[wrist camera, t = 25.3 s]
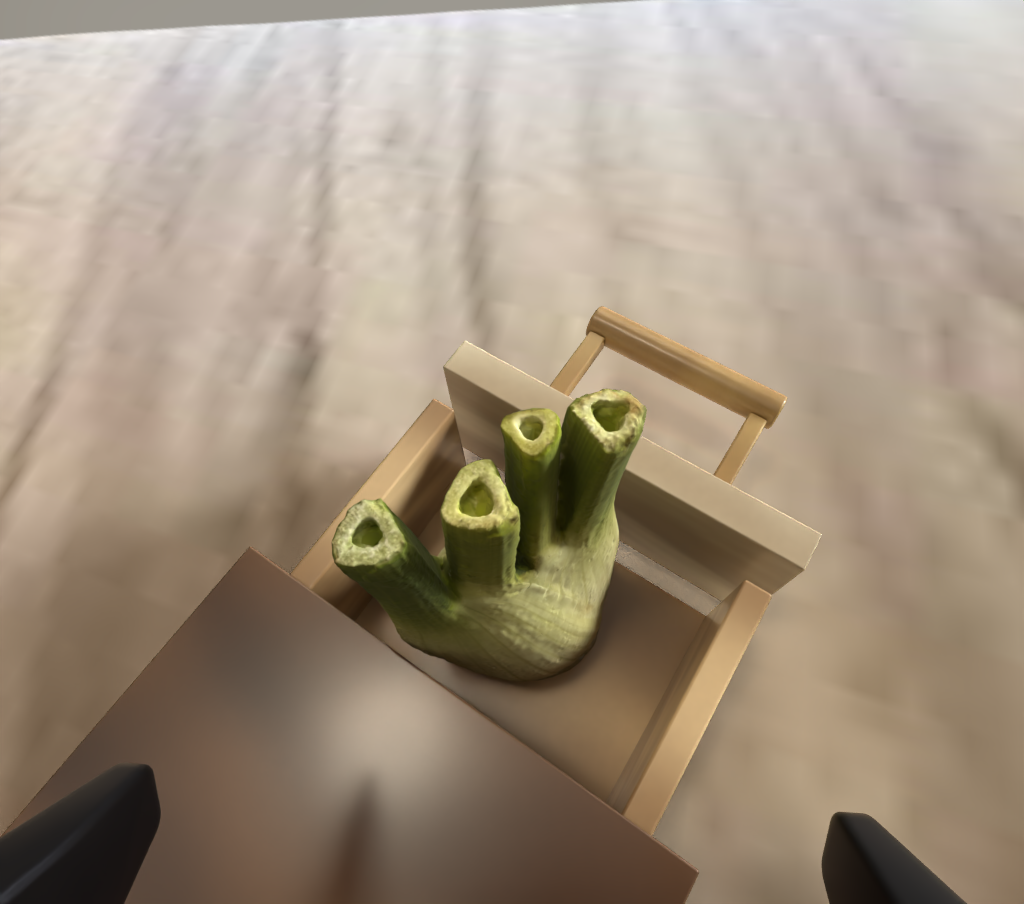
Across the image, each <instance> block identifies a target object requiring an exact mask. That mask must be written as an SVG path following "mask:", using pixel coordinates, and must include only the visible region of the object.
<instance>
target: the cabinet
mask: <svg viewBox="0 0 1024 904" xmlns="http://www.w3.org/2000/svg"><path fill="white" fill-rule="evenodd" d="M119 763H137V764H147V765H149V766H150V767H151V768H152V769H153V772H154V776H155V781H156V787H157V792H158V797H159V802H160V807H161V818H160V823H159V827H158V830H157V832H156V834H155V837H154V839H153V841H152V843H151V845H150V848H149V850H148V852H147V854H146V856H145V859H144V861H143V863H142V865H141V867H140V870H139V872H138V874H137V876H136V879H135V881H134V883H133V885H132V887H131V890H130V892H129V894H128V896H127V898H126V901H125V903H124V904H685V902H686V900H687V898H688V895H689V893H690V891H691V889H692V887H693V885H694V883H695V880H696V878H697V876H698V874H699V871H698V869H696V868H695V867H694V866H692V865H691V864H690V863H688V862H687V861H685V860H684V859H683V858H681V857H680V856H678V855H677V854H676V853H674V852H673V851H672V850H670V849H669V848H667V847H666V846H665V845H663V844H662V843H661V842H659V841H658V840H656V839H655V838H654V837H652V836H651V835H649V834H648V833H647V832H645V831H644V830H643V829H641V828H640V827H638V826H637V825H636V824H634V823H633V822H631V821H630V820H629V819H627V818H626V817H625V816H623V815H622V814H620V813H619V812H618V811H616V810H615V809H613V808H612V807H611V806H609V805H608V804H607V803H605V802H604V801H602V800H601V799H600V798H598V797H597V796H596V795H594V794H593V793H591V792H590V791H589V790H587V789H586V788H584V787H583V786H582V785H580V784H579V783H578V782H576V781H575V780H573V779H572V778H571V777H569V776H568V775H566V774H565V773H564V772H562V771H561V770H560V769H558V768H557V767H555V766H554V765H553V764H551V763H550V762H548V761H547V760H546V759H544V758H543V757H542V756H540V755H539V754H537V753H536V752H535V751H533V750H532V749H531V748H529V747H528V746H526V745H525V744H524V743H522V742H521V741H519V740H518V739H517V738H515V737H514V736H513V735H511V734H510V733H508V732H507V731H506V730H504V729H503V728H501V727H500V726H499V725H497V724H496V723H495V722H493V721H492V720H490V719H489V718H488V717H486V716H485V715H484V714H482V713H481V712H479V711H478V710H477V709H475V708H474V707H472V706H471V705H470V704H468V703H467V702H466V701H464V700H463V699H461V698H460V697H459V696H457V695H456V694H454V693H453V692H452V691H450V690H449V689H448V688H446V687H445V686H443V685H442V684H441V683H439V682H438V681H436V680H435V679H434V678H432V677H431V676H430V675H428V674H427V673H425V672H424V671H423V670H421V669H420V668H419V667H417V666H416V665H414V664H413V663H412V662H410V661H409V660H407V659H406V658H405V657H403V656H402V655H401V654H399V653H398V652H396V651H395V650H394V649H392V648H391V647H389V646H388V645H387V644H385V643H384V642H383V641H381V640H380V639H378V638H377V637H376V636H374V635H373V634H371V633H370V632H369V631H367V630H366V629H365V628H363V627H362V626H360V625H359V624H358V623H356V622H355V621H354V620H352V619H351V618H349V617H348V616H347V615H345V614H344V613H342V612H341V611H340V610H338V609H337V608H336V607H334V606H333V605H331V604H330V603H329V602H327V601H326V600H324V599H323V598H322V597H320V596H319V595H318V594H316V593H315V592H313V591H312V590H311V589H309V588H308V587H306V586H305V585H304V584H302V583H301V582H300V581H298V580H297V579H295V578H294V577H293V576H291V575H290V574H289V573H287V572H286V571H284V570H283V569H282V568H280V567H279V566H277V565H276V564H275V563H273V562H272V561H271V560H269V559H268V558H266V557H265V556H264V555H262V554H261V553H259V552H258V551H257V550H255V549H254V548H253V547H249V548H248V549H247V550H246V552H245V553H244V554H243V555H242V556H241V557H240V559H239V560H238V561H237V562H236V563H235V564H234V566H233V567H232V568H231V569H230V570H229V571H228V573H227V574H226V575H225V576H224V577H223V578H222V580H221V581H220V582H219V583H218V584H217V585H216V587H215V588H214V589H213V590H212V591H211V592H210V593H209V595H208V596H207V597H206V598H205V599H204V600H203V602H202V603H201V604H200V605H199V606H198V607H197V609H196V610H195V611H194V612H193V613H192V614H191V616H190V617H189V618H188V619H187V620H186V621H185V623H184V624H183V625H182V626H181V627H180V628H179V630H178V631H177V632H176V633H175V634H174V635H173V637H172V638H171V639H170V640H169V641H168V642H167V643H166V645H165V646H164V647H163V648H162V649H161V650H160V652H159V653H158V654H157V655H156V656H155V657H154V659H153V660H152V661H151V662H150V663H149V664H148V666H147V667H146V668H145V669H144V670H143V671H142V673H141V674H140V675H139V676H138V677H137V678H136V680H135V681H134V682H133V683H132V684H131V685H130V687H129V688H128V689H127V690H126V691H125V692H124V694H123V695H122V696H121V697H120V698H119V699H118V700H117V702H116V703H115V704H114V705H113V706H112V707H111V709H110V710H109V711H108V712H107V713H106V714H105V716H104V717H103V718H102V719H101V720H100V721H99V723H98V724H97V725H96V726H95V727H94V728H93V730H92V731H91V732H90V733H89V734H88V735H87V737H86V738H85V739H84V740H83V741H82V742H81V744H80V745H79V746H78V747H77V748H76V749H75V750H74V752H73V753H72V754H71V755H70V756H69V757H68V759H67V760H66V761H65V762H64V763H63V764H62V766H61V767H60V768H59V769H58V770H57V771H56V773H55V774H54V775H53V776H52V777H51V778H50V780H49V781H48V782H47V783H46V784H45V785H44V787H43V788H42V789H41V790H40V791H39V792H38V794H37V795H36V796H35V797H34V798H33V799H32V800H31V802H30V803H29V804H28V805H27V806H26V807H25V809H24V810H23V811H22V812H21V813H20V814H19V816H18V817H17V818H16V819H15V820H14V821H13V823H12V824H11V825H10V826H9V827H8V828H7V830H6V831H5V832H4V833H3V834H2V835H1V837H2V836H3V835H5V834H6V833H8V832H10V831H11V830H13V829H14V828H16V827H18V826H19V825H21V824H22V823H24V822H25V821H27V820H29V819H30V818H32V817H33V816H35V815H37V814H38V813H40V812H41V811H43V810H44V809H46V808H48V807H49V806H51V805H52V804H54V803H55V802H57V801H59V800H60V799H62V798H63V797H65V796H67V795H68V794H70V793H71V792H73V791H74V790H76V789H78V788H79V787H81V786H82V785H84V784H86V783H87V782H89V781H90V780H92V779H93V778H95V777H97V776H98V775H100V774H101V773H103V772H104V771H106V770H108V769H109V768H111V767H113V766H114V765H116V764H119Z"/></svg>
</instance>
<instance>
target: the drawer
mask: <svg viewBox="0 0 1024 904" xmlns="http://www.w3.org/2000/svg"><path fill="white" fill-rule="evenodd" d="M604 346H606V347H608V348H610V349H612V350H613V351H615V352H617V353H619V354H621V355H623V356H625V357H627V358H629V359H631V360H633V361H635V362H637V363H639V364H641V365H643V366H645V367H647V368H649V369H651V370H653V371H655V372H657V373H659V374H661V375H662V376H664V377H666V378H668V379H670V380H672V381H674V382H676V383H678V384H680V385H682V386H684V387H686V388H688V389H690V390H692V391H694V392H696V393H698V394H700V395H702V396H704V397H706V398H708V399H710V400H712V401H713V402H715V403H717V404H719V405H721V406H723V407H725V408H727V409H729V410H731V411H733V412H735V413H737V414H739V415H741V416H743V417H745V418H746V420H745V422H744V424H743V425H742V427H741V429H740V430H739V432H738V434H737V436H736V437H735V439H734V441H733V442H732V444H731V446H730V448H729V449H728V451H727V453H726V454H725V456H724V458H723V460H722V461H721V463H720V465H719V466H718V468H717V470H716V471H715V473H714V475H712V474H710V473H708V472H706V471H705V470H703V469H701V468H699V467H697V466H695V465H694V464H692V463H690V462H688V461H686V460H684V459H682V458H681V457H679V456H677V455H675V454H673V453H671V452H670V451H668V450H666V449H664V448H662V447H660V446H659V445H657V444H655V443H653V442H651V441H649V440H647V439H646V438H644V437H642V436H640V439H639V441H638V443H637V445H636V447H635V449H634V450H633V452H632V454H631V457H630V459H629V461H628V463H627V466H626V468H625V470H624V472H623V474H622V477H621V480H620V482H619V485H618V488H617V491H616V495H615V500H614V509H615V514H616V519H617V523H618V529H619V540H620V541H622V542H623V543H625V544H627V545H628V546H630V547H632V548H633V549H635V550H637V551H638V552H640V553H642V554H643V555H645V556H647V557H648V558H650V559H652V560H653V561H655V562H657V563H658V564H660V565H662V566H663V567H665V568H667V569H668V570H670V571H672V572H673V573H675V574H677V575H679V576H680V577H682V578H684V579H685V580H687V581H689V582H690V583H692V584H694V585H695V586H697V587H699V588H700V589H702V590H704V591H705V592H707V593H709V594H710V595H712V596H714V597H715V598H717V599H719V600H720V601H722V602H721V603H720V604H719V605H718V606H717V607H715V608H714V609H713V610H712V611H711V612H710V613H709V614H708V615H707V616H705V615H703V614H701V613H700V612H698V611H696V610H695V609H693V608H691V607H690V606H688V605H687V604H685V603H683V602H682V601H680V600H678V599H677V598H675V597H673V596H672V595H670V594H668V593H667V592H665V591H663V590H662V589H660V588H659V587H657V586H655V585H654V584H652V583H650V582H649V581H647V580H645V579H644V578H642V577H640V576H639V575H637V574H636V573H634V572H632V571H631V570H629V569H627V568H626V567H624V566H622V565H621V564H619V563H617V562H616V561H614V569H613V573H612V578H611V583H610V586H609V589H608V592H607V596H606V599H605V601H604V604H603V609H602V620H601V625H600V628H599V631H598V635H597V639H596V642H595V644H594V646H593V647H592V649H591V650H590V651H589V652H588V653H587V654H586V655H585V656H584V658H583V659H582V660H581V661H580V662H579V663H578V664H577V665H576V666H575V667H573V668H572V669H570V670H569V671H567V672H564V673H562V674H559V675H557V676H554V677H551V678H547V679H543V680H538V681H526V682H514V681H507V680H504V679H500V678H495V677H490V676H488V675H485V674H481V673H476V672H473V671H471V670H469V669H466V668H463V667H461V666H458V665H456V664H453V663H450V662H447V661H446V660H444V659H441V658H437V657H431V656H429V655H428V654H424V653H423V652H422V651H420V650H418V649H415V648H413V647H411V646H410V645H408V644H407V643H406V642H404V641H403V640H402V639H401V638H400V635H399V634H398V633H397V631H396V628H395V625H394V623H393V622H392V620H391V618H390V617H389V615H388V613H387V612H386V611H385V610H384V609H383V607H382V606H381V604H380V603H379V602H378V601H377V600H376V599H375V598H374V597H373V596H372V595H371V594H369V593H368V592H367V591H366V590H365V589H364V588H363V587H361V586H360V585H359V583H357V582H356V581H354V580H352V579H350V578H349V577H348V576H347V575H345V574H344V573H343V572H342V571H341V569H340V568H338V567H337V565H336V564H335V563H334V559H333V556H332V539H333V537H334V535H335V532H336V529H337V526H338V525H339V524H340V522H341V521H342V520H343V519H344V518H345V516H346V513H347V510H348V509H349V508H351V507H352V506H353V505H354V504H356V503H358V502H360V501H361V500H363V499H366V500H376V499H379V498H381V499H382V500H383V501H384V502H385V503H386V504H387V506H388V507H389V508H390V509H391V511H392V512H393V513H395V514H396V516H398V517H399V518H400V519H401V520H402V521H403V523H404V524H405V525H406V526H407V527H408V528H409V529H410V530H411V531H412V532H413V533H414V535H415V536H416V537H417V538H418V539H419V540H420V542H421V543H422V544H423V545H424V546H425V548H426V549H427V550H428V552H429V553H430V554H431V555H433V556H438V554H439V553H440V552H441V550H442V549H443V548H444V547H445V538H444V534H443V527H442V520H441V517H440V509H441V506H442V504H443V502H444V498H445V495H446V493H447V491H448V490H449V488H450V486H451V484H452V482H453V480H454V479H455V477H456V476H457V474H458V472H459V471H460V470H461V468H463V467H465V466H466V461H465V457H464V453H463V448H462V447H464V448H466V449H467V450H469V451H471V452H472V453H474V454H476V455H477V456H479V457H481V458H482V459H490V460H492V461H493V462H494V464H495V466H496V467H498V468H499V469H501V470H503V471H504V472H505V456H504V439H503V435H502V432H501V428H500V425H501V422H502V420H503V418H504V417H505V416H506V415H508V414H511V413H514V412H518V411H521V410H526V409H530V408H546V409H550V410H552V411H553V412H555V413H556V414H557V415H558V417H559V418H560V424H561V427H562V424H563V420H564V417H565V413H566V410H567V407H568V406H569V405H570V404H571V403H572V402H573V401H574V399H572V398H570V397H568V396H569V395H570V393H571V392H572V391H573V389H574V388H575V386H576V385H577V384H578V382H579V381H580V380H581V378H582V377H583V375H584V374H585V373H586V371H587V370H588V368H589V367H590V366H591V364H592V363H593V362H594V360H595V359H596V357H597V356H598V355H599V353H600V352H601V350H602V349H603V347H604ZM443 368H444V373H445V377H446V382H447V386H448V390H449V395H450V399H451V403H452V408H453V409H451V408H450V407H448V406H446V405H444V404H443V403H441V402H439V401H438V400H436V399H433V400H432V401H431V403H430V404H429V405H428V406H427V407H426V409H425V410H424V411H423V412H422V414H421V415H420V416H419V417H418V418H417V420H416V421H415V422H414V423H413V425H412V426H411V427H410V428H409V429H408V431H407V432H406V433H405V434H404V436H403V437H402V438H401V439H400V440H399V442H398V443H397V444H396V445H395V447H394V448H393V449H392V450H391V451H390V453H389V454H388V455H387V456H386V458H385V459H384V460H383V461H382V462H381V464H380V465H379V466H378V467H377V469H376V470H375V471H374V472H373V473H372V475H371V476H370V477H369V478H368V480H367V481H366V482H365V483H364V484H363V486H362V487H361V488H360V489H359V490H358V492H357V493H356V494H355V495H354V497H353V498H352V499H351V500H350V501H349V503H348V504H347V505H346V506H345V508H344V509H343V510H342V511H341V512H340V514H339V515H338V516H337V517H336V519H335V520H334V521H333V522H332V523H331V525H330V526H329V527H328V528H327V530H326V531H325V532H324V533H323V534H322V536H321V537H320V538H319V539H318V541H317V542H316V543H315V544H314V545H313V547H312V548H311V549H310V550H309V552H308V553H307V554H306V555H305V556H304V558H303V559H302V560H301V561H300V563H299V564H298V565H297V566H296V567H295V569H294V570H293V571H292V572H291V574H290V575H291V576H293V577H294V578H295V579H297V580H298V581H300V582H301V583H302V584H304V585H305V586H306V587H308V588H309V589H311V590H312V591H313V592H315V593H316V594H318V595H319V596H320V597H322V598H323V599H324V600H326V601H327V602H329V603H330V604H331V605H333V606H334V607H336V608H337V609H338V610H340V611H341V612H342V613H344V614H345V615H347V616H348V617H349V618H351V619H352V620H354V621H355V622H356V623H358V624H359V625H360V626H362V627H363V628H365V629H366V630H367V631H369V632H370V633H371V634H373V635H374V636H376V637H377V638H378V639H380V640H381V641H383V642H384V643H385V644H387V645H388V646H389V647H391V648H392V649H394V650H395V651H396V652H398V653H399V654H401V655H402V656H403V657H405V658H406V659H407V660H409V661H410V662H412V663H413V664H414V665H416V666H417V667H419V668H420V669H421V670H423V671H424V672H425V673H427V674H428V675H430V676H431V677H432V678H434V679H435V680H436V681H438V682H439V683H441V684H442V685H443V686H445V687H446V688H448V689H449V690H450V691H452V692H453V693H454V694H456V695H457V696H459V697H460V698H461V699H463V700H464V701H466V702H467V703H468V704H470V705H471V706H472V707H474V708H475V709H477V710H478V711H479V712H481V713H482V714H484V715H485V716H486V717H488V718H489V719H490V720H492V721H493V722H495V723H496V724H497V725H499V726H500V727H501V728H503V729H504V730H506V731H507V732H508V733H510V734H511V735H513V736H514V737H515V738H517V739H518V740H519V741H521V742H522V743H524V744H525V745H526V746H528V747H529V748H531V749H532V750H533V751H535V752H536V753H537V754H539V755H540V756H542V757H543V758H544V759H546V760H547V761H548V762H550V763H551V764H553V765H554V766H555V767H557V768H558V769H560V770H561V771H562V772H564V773H565V774H566V775H568V776H569V777H571V778H572V779H573V780H575V781H576V782H578V783H579V784H580V785H582V786H583V787H584V788H586V789H587V790H589V791H590V792H591V793H593V794H594V795H596V796H597V797H598V798H600V799H601V800H602V801H604V802H605V803H607V804H608V805H609V806H611V807H612V808H613V809H615V810H616V811H618V812H619V813H620V814H622V815H623V816H625V817H626V818H627V819H629V820H630V821H631V822H633V823H634V824H636V825H637V826H638V827H640V828H641V829H643V830H644V831H645V832H647V833H648V834H649V835H651V836H652V835H653V833H654V831H655V829H656V827H657V825H658V823H659V821H660V819H661V817H662V815H663V813H664V811H665V809H666V807H667V805H668V803H669V801H670V799H671V797H672V795H673V793H674V791H675V789H676V787H677V785H678V783H679V781H680V779H681V777H682V775H683V773H684V771H685V769H686V767H687V765H688V763H689V761H690V759H691V757H692V755H693V753H694V751H695V749H696V747H697V745H698V743H699V741H700V739H701V737H702V735H703V734H704V732H705V730H706V728H707V726H708V724H709V722H710V720H711V718H712V716H713V714H714V712H715V710H716V708H717V706H718V704H719V702H720V700H721V698H722V696H723V694H724V692H725V690H726V688H727V686H728V684H729V682H730V680H731V678H732V676H733V674H734V672H735V670H736V668H737V666H738V664H739V662H740V660H741V658H742V656H743V654H744V652H745V650H746V648H747V646H748V644H749V642H750V640H751V638H752V636H753V634H754V632H755V630H756V628H757V626H758V624H759V622H760V620H761V618H762V616H763V614H764V612H765V610H766V608H767V606H768V604H769V602H770V600H771V596H772V594H774V593H775V592H776V591H778V590H779V589H780V588H782V587H783V586H784V585H785V584H787V583H788V582H789V581H791V580H792V579H793V578H795V577H796V576H797V575H798V574H800V573H801V572H802V571H804V570H805V569H806V567H807V564H808V562H809V560H810V558H811V556H812V554H813V552H814V550H815V548H816V546H817V544H818V542H819V540H820V538H821V533H819V532H817V531H815V530H813V529H811V528H810V527H808V526H806V525H804V524H802V523H800V522H799V521H797V520H795V519H793V518H791V517H789V516H787V515H786V514H784V513H782V512H780V511H778V510H776V509H775V508H773V507H771V506H769V505H767V504H765V503H764V502H762V501H760V500H758V499H756V498H754V497H752V496H751V495H749V494H747V493H745V492H743V491H741V490H740V489H738V488H736V487H734V486H732V485H731V484H732V482H733V481H734V479H735V477H736V475H737V474H738V472H739V470H740V468H741V467H742V465H743V463H744V461H745V460H746V458H747V456H748V454H749V453H750V451H751V449H752V447H753V446H754V444H755V442H756V440H757V439H758V437H759V435H760V433H761V431H762V430H763V428H766V429H769V428H770V427H771V426H772V425H773V423H774V422H775V420H776V418H777V417H778V415H779V413H780V412H781V410H782V408H783V407H784V405H785V403H786V401H787V397H786V396H784V395H782V394H780V393H778V392H776V391H774V390H772V389H770V388H768V387H766V386H764V385H762V384H760V383H758V382H756V381H754V380H752V379H750V378H748V377H746V376H744V375H742V374H740V373H738V372H736V371H734V370H732V369H730V368H727V367H725V366H723V365H721V364H719V363H717V362H715V361H713V360H711V359H709V358H707V357H705V356H703V355H701V354H699V353H697V352H695V351H693V350H691V349H689V348H687V347H685V346H683V345H681V344H679V343H677V342H675V341H673V340H671V339H669V338H667V337H664V336H662V335H660V334H658V333H656V332H654V331H652V330H650V329H648V328H646V327H644V326H642V325H640V324H638V323H636V322H634V321H632V320H630V319H628V318H626V317H624V316H622V315H620V314H618V313H616V312H614V311H612V310H610V309H608V308H606V307H603V306H601V307H599V308H598V309H597V310H596V311H595V313H594V314H593V316H592V317H591V319H590V321H589V324H588V326H587V330H586V338H585V339H584V340H583V342H582V343H581V344H580V346H579V347H578V348H577V350H576V351H575V353H574V354H573V355H572V357H571V358H570V359H569V361H568V362H567V363H566V365H565V366H564V367H563V369H562V370H561V371H560V373H559V374H558V375H557V377H556V378H555V379H554V381H553V382H552V384H551V385H550V386H548V385H546V384H544V383H542V382H541V381H539V380H537V379H535V378H533V377H531V376H530V375H528V374H526V373H524V372H522V371H520V370H519V369H517V368H515V367H513V366H511V365H509V364H508V363H506V362H504V361H502V360H500V359H498V358H496V357H495V356H493V355H491V354H489V353H487V352H485V351H484V350H482V349H480V348H478V347H476V346H474V345H473V344H471V343H469V342H467V341H464V342H463V343H462V345H461V346H460V347H459V348H458V349H457V351H456V352H455V353H454V354H453V355H452V357H451V358H450V359H449V360H448V361H447V363H446V364H445V365H444V367H443Z"/></svg>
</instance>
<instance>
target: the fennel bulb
mask: <svg viewBox="0 0 1024 904" xmlns="http://www.w3.org/2000/svg"><path fill="white" fill-rule="evenodd" d="M645 417H646V407H645V406H643V405H642V404H641V403H640V402H639V401H638V400H637V399H636V398H635V397H633V396H632V395H631V394H630V393H629V392H626V391H622V390H611V389H602V390H601V391H599V392H596V393H592V394H585V395H584V396H582V397H580V398H576V399H575V400H574V401H573V402H572V403H571V404H570V405H569V406H568V407H567V410H566V413H565V417H564V420H563V424H562V427H561V424H560V418H559V417H558V415H557V414H556V413H555V412H553V411H552V410H550V409H546V408H530V409H526V410H521V411H518V412H514V413H511V414H508V415H506V416H505V417H504V418H503V420H502V422H501V425H500V428H501V432H502V435H503V439H504V456H505V482H506V486H505V485H504V484H503V482H502V480H501V477H500V474H499V472H498V470H497V468H496V466H495V464H494V462H493V461H492V460H490V459H482V460H478V461H475V462H472V463H470V464H468V465H466V466H465V467H463V468H461V470H460V471H459V472H458V474H457V476H456V477H455V479H454V480H453V482H452V484H451V486H450V488H449V490H448V491H447V493H446V495H445V498H444V502H443V504H442V506H441V509H440V517H441V520H442V527H443V534H444V538H445V547H444V548H443V549H442V550H441V552H440V553H439V554H438V556H433V555H431V554H430V553H429V552H428V550H427V549H426V548H425V546H424V545H423V544H422V543H421V542H420V540H419V539H418V538H417V537H416V536H415V535H414V533H413V532H412V531H411V530H410V529H409V528H408V527H407V526H406V525H405V524H404V523H403V521H402V520H401V519H400V518H399V517H398V516H396V514H395V513H393V512H392V511H391V509H390V508H389V507H388V506H387V504H386V503H385V502H384V501H383V500H382V499H381V498H379V499H376V500H366V499H363V500H361V501H360V502H358V503H356V504H354V505H353V506H352V507H351V508H349V509H348V510H347V513H346V516H345V518H344V519H343V520H342V521H341V522H340V524H339V525H338V526H337V529H336V532H335V535H334V537H333V539H332V556H333V559H334V563H335V564H336V565H337V567H338V568H340V569H341V571H342V572H343V573H344V574H345V575H347V576H348V577H349V578H350V579H352V580H354V581H356V582H357V583H359V585H360V586H361V587H363V588H364V589H365V590H366V591H367V592H368V593H369V594H371V595H372V596H373V597H374V598H375V599H376V600H377V601H378V602H379V603H380V604H381V606H382V607H383V609H384V610H385V611H386V612H387V613H388V615H389V617H390V618H391V620H392V622H393V623H394V625H395V628H396V631H397V633H398V634H399V635H400V638H401V639H402V640H403V641H404V642H406V643H407V644H408V645H410V646H411V647H413V648H415V649H418V650H420V651H422V652H423V653H424V654H428V655H429V656H431V657H437V658H441V659H444V660H446V661H447V662H450V663H453V664H456V665H458V666H461V667H463V668H466V669H469V670H471V671H473V672H476V673H481V674H485V675H488V676H490V677H495V678H500V679H504V680H507V681H514V682H526V681H538V680H543V679H547V678H551V677H554V676H557V675H559V674H562V673H564V672H567V671H569V670H570V669H572V668H573V667H575V666H576V665H577V664H578V663H579V662H580V661H581V660H582V659H583V658H584V656H585V655H586V654H587V653H588V652H589V651H590V650H591V649H592V647H593V646H594V644H595V642H596V639H597V635H598V631H599V628H600V625H601V620H602V609H603V604H604V601H605V599H606V596H607V592H608V589H609V586H610V583H611V578H612V573H613V569H614V561H615V556H616V553H617V549H618V544H619V529H618V523H617V519H616V514H615V509H614V500H615V495H616V491H617V488H618V485H619V482H620V480H621V477H622V474H623V472H624V470H625V468H626V466H627V463H628V461H629V459H630V457H631V454H632V452H633V450H634V449H635V447H636V445H637V443H638V441H639V439H640V436H641V433H642V431H643V426H644V422H645Z"/></svg>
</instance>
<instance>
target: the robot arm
mask: <svg viewBox="0 0 1024 904" xmlns="http://www.w3.org/2000/svg"><path fill="white" fill-rule="evenodd" d="M160 818H161V807H160V802H159V797H158V792H157V787H156V781H155V776H154V772H153V769H152V768H151V767H150V766H149V765H147V764H137V763H119V764H116V765H114V766H113V767H111V768H109V769H108V770H106V771H104V772H103V773H101V774H100V775H98V776H97V777H95V778H93V779H92V780H90V781H89V782H87V783H86V784H84V785H82V786H81V787H79V788H78V789H76V790H74V791H73V792H71V793H70V794H68V795H67V796H65V797H63V798H62V799H60V800H59V801H57V802H55V803H54V804H52V805H51V806H49V807H48V808H46V809H44V810H43V811H41V812H40V813H38V814H37V815H35V816H33V817H32V818H30V819H29V820H27V821H25V822H24V823H22V824H21V825H19V826H18V827H16V828H14V829H13V830H11V831H10V832H8V833H6V834H5V835H3V836H2V837H0V904H124V903H125V901H126V898H127V896H128V894H129V892H130V890H131V887H132V885H133V883H134V881H135V879H136V876H137V874H138V872H139V870H140V867H141V865H142V863H143V861H144V859H145V856H146V854H147V852H148V850H149V848H150V845H151V843H152V841H153V839H154V837H155V834H156V832H157V830H158V827H159V823H160ZM822 874H823V880H824V884H825V888H826V891H827V895H828V899H829V903H830V904H967V903H966V902H965V901H963V900H962V899H961V898H960V897H959V896H958V895H957V894H956V893H955V892H954V891H952V890H951V889H950V888H949V887H948V886H947V885H946V884H945V883H944V882H943V881H942V880H940V879H939V878H938V877H937V876H936V875H935V874H934V873H933V872H932V871H931V870H930V869H928V868H927V867H926V866H925V865H924V864H923V863H922V862H921V861H920V860H919V859H917V858H916V857H915V856H914V855H913V854H912V853H911V852H910V851H909V850H908V849H907V848H905V847H904V846H903V845H902V844H901V843H900V842H899V841H898V840H897V839H896V838H894V837H893V836H892V835H891V834H890V833H889V832H888V831H887V830H886V829H885V828H884V827H882V826H881V825H880V824H879V823H878V822H877V821H876V820H875V819H873V818H872V817H871V816H869V815H867V814H863V813H849V812H837V813H835V814H834V815H833V816H832V818H831V821H830V826H829V830H828V834H827V839H826V843H825V847H824V852H823V856H822Z"/></svg>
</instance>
